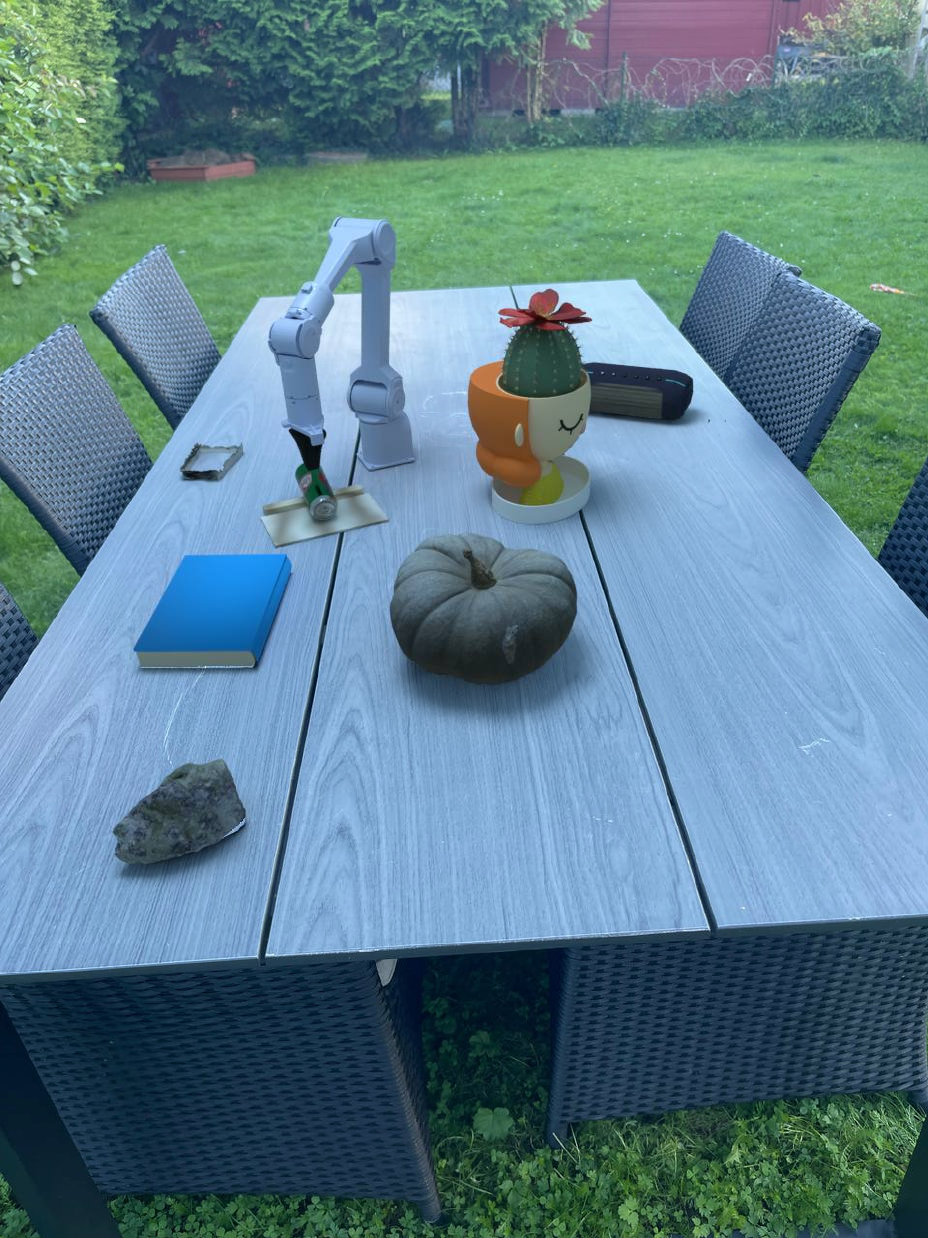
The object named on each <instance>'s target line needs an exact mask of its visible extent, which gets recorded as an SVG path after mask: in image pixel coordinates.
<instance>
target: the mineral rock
mask: <svg viewBox="0 0 928 1238" xmlns="http://www.w3.org/2000/svg"><path fill="white" fill-rule="evenodd" d="M246 810H247V809H246V808H245V806H244V804H243V802H242V800H241V799H240V795H239V794H238V791H237V786H236V784H235V780H234V777H233V776H232V773H231V771H230V768H229V767H228V765H227V763H226V761H225V760H224V759H222V758H220V759H219V758H218V759H214V760H212V761H209V762H206V763H203V764H202V763H199V764H198V763H193V762H188V763H185V764H182V765H180V766H178V767H176V768H175V769H174V770H173V771H171V772H170V773H169V774H167V775H166V776H165V777H164V778H163V780H162V782H161V783H160V785H158V787H157V788H155V790H152V792H150V793H149V794H148V795H145V796H144V797H142V798H141V799H140V800H138V802H137V804H136V805H135V806H133V807H132V808H131V810H130V811H129V812H128V813H127V815H126V816H124V817H123V818H121V819H122V820H120V821H119V822H118V823H117V824H115V826H114V827H113V830H112V834H113V835H114V837H115V838H116V840H117V843H116V846H115V849H114V850H115V852H114V855H115V857H116V858H117V859H118V860H119V861H121V862H124V863H127V864H139V863H141V864H143V865H147V864H153V863H157V862H161V860H162V861H165V860H170V859H172V857H173V858H179V857H181V856H183V855H186V854H190V853H198V852H200V851H201V850H202V849H204V848H205V847H209V846H213V845H215V844H217V843H219V842H220V841H221V839H222V840H223V839H224V838H223V837H224V836H225V835H227V834H228V833H229V832H230V831H232V829H234V828H235V827H236V826H238V825H239V824H240V822H242V821H243V819H244V818H245V817H246V816H247V815H246V813H247V812H246ZM246 818H247V817H246Z"/></svg>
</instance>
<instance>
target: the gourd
mask: <svg viewBox="0 0 928 1238" xmlns="http://www.w3.org/2000/svg"><path fill="white" fill-rule="evenodd" d="M577 603H578V591H577V585H576V583H575V580H574V576H573V574H572V572H571V571H570V570H569V568H568V566H567V564H566V563H565V562H564V560H563V559H562V558H561V557H559V556H557V555H555V554H553V553H549V552H548V551H547V552H546V551H543V550H539V549H537V548H536V549H535V548H530V547H529V548H516V549H514V548H511V547H505V546H504V544H503V543H502V542H500V541H499V540H497V539H495V538H492V537H489V536H484V535H482V534H479V533H472V532H462V533H459V534H451V533H448V534H447V533H446V534H442V535H434V534H433V535H430V536H427V537H426V538H425V539H423V540H422V541H421V542H420V543H419V544H418V545H417V547H416V548H415V549H414V550H413V551H412V552H411V553H409V554H408V556H406V557H405V559H404V560H403V561H402V563H401V564H400V566H399V569H398V572H397V576H396V578H395V580H394V584H393V594H392V598H391V601H390V604H389V615H390V616H389V617H390V623H391V628H392V630H393V633H394V636H395V638H396V641H397V643H398V646H399V648H400V650H401V651H402V653H403V654H404V656H406V658H407V659H408V660H410V662H413V663H414V664H416V665H418V666H419V668H420V669H422V670H424V671H426V672H428V673H430V674H432V675H434V676H440V677H449V676H450V677H453V678H456V679H460V680H463V681H464V682H466V683H468V684H472V685H477V686H478V685H480V686H481V685H482V686H483V685H486V686H487V685H490V686H495V685H501V684H506V683H512V682H514V681H517V680H520V679H522V678H524V677H526V676H529V675H531V674H534V673H535V672H536V671H538V670H539V669H540V668H542V667H543V666H544V665H546V663H547V662H549V660H551V659H552V657H553V656H554V655H555V654H556V653H558V652H559V650H560V649H561V648H562V646H563V645H564V643H565V642H566V641H567V639H568V638H569V635H570V633H571V632H572V631H571V630H572V628H573V626H574V622H575V620H576V618H577V614H578V604H577Z"/></svg>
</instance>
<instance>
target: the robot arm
mask: <svg viewBox="0 0 928 1238" xmlns="http://www.w3.org/2000/svg"><path fill="white" fill-rule="evenodd" d="M327 235H328V236H327V237H328V241H327V242H328V246H329V247H328V249H327V251H326V254H325V256H324V258H323V259H322V263H321V264H320V267H319V268H318V270H317V272H316V275H315V277H314V279H313V281H307V282H304V283H303V284H302V286H301V288H300V290H299V291H298V293H297V294H296V296H295V298H294V300H293V301H292V303H291V305H290V306H289V308H288V310H287V311H286V312H285V315H284V316H283V317H280V318H277V319H276V320H274V321H273V322H272V323H271V325H270V327H269V330H268V340H267V346H268V348H269V350H270V352H271V353H272V354H273V356H274V360H275V364H277V366H279V369H280V376H281V383H282V389H283V394H284V402H285V408H286V414H287V418H286V419H282V420H280V421H281V422H280V423H281V427H282V428H284V429H288V428H289V429H288V433H289V435H290V436H291V437H292V439H293V441H294V442H295V444H296V447H297V448H298V451H299V454H300V457H301V459H302V462H303V463H304V465H305V467H306V469H307V470H308V471H311V470H316V469H319V467H320V466H321V456H322V449H323V445H325V440H326V438H327V431H326V429H324V425H325V415H324V414H323V409H322V403H321V395H320V389H319V387H320V386H319V380H318V373H317V364H316V357H315V355H316V354H317V352H319V349H320V344H321V335H323V328H322V327H323V326H324V324H325V322H326V320H327V319H328V316H329V315H330V313H331V311H332V310H333V308H334V305H335V298H334V295H333V293H334V292H335V290H336V289H337V287H338V286H339V284H341V281H342V280H343V278H344V277H345V276H346V274H347V273H348V271H349V270H350V269H351V267H352V266H353V267H354V268H355V269H356V270H357V271H358V273H359V274H360V275H361V299H360V300H361V302H360V303H361V309H360V311H361V314H360V315H361V320H360V322H361V325H360V326H361V330H360V331H361V333H360V335H361V337H360V338H361V340H360V342H361V343H360V348H361V350H360V351H361V352H360V365H359V366H358V367H357V368H355V370H353V371H352V372H351V373H350V374H349V383H348V387H347V391H346V402H347V405H348V409H349V411H351V412H352V413H354V418H356V419H358V422H359V423H358V424H359V432H360V442H361V449H362V451H360V452H357V453H356V457H357V458H358V459H359V460H360V462H361V463H362V465H364V467H365V468H366V469H367V470H368V471H374V470H378V469H383V468H389V467H393V466H398V465H402V464H406V463H411V462H415V461H416V460H415V457H414V450H413V449H414V447H413V436H412V426H411V422H410V419H409V415H407V413H406V412H405V411H404V409H405V406H406V393H405V391H404V382H403V379H404V378H403V376H402V375H401V374H400V373H399V372H398V371H397V370H395V369H394V367H392V366H391V365H390V338H391V336H390V334H391V333H390V331H391V284H392V283H391V281H392V280H391V277H392V273H391V271H392V270H394V269H395V268H396V254H397V253H396V252H397V246H396V245H397V243H396V242H397V236H396V235H397V234H396V231H395V229H394V228H393V226H392V224H391V223H390V222H389V220H387V219H384V218H383V219H382V218H381V219H372V218H371V219H370V218H355V217H346V216H337V217H335V219H334V220H333V222H332V224H331V226H330V229H329V230H328V234H327ZM303 463H302V464H303Z"/></svg>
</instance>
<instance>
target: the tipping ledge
mask: <svg viewBox="0 0 928 1238" xmlns="http://www.w3.org/2000/svg"><path fill="white" fill-rule="evenodd" d="M332 491H333V493H334V495H335V498H336V500H337V503H338V507H337V512H336V514H335V515H334V516H333V517H332V518H330V519H328V520H318V519H316V518H315V517H314V516H312V515H311V513H310V511H309V509H308V507H307V504H306V502H305V499H304V497H303V496H300V497H295V498H291V499H285V500H282V501H281V500H280V501H276V502H272V503H267V504H264V505H262V510H263V514H264V516H263V515H262V516H261V517H260V521H261V522H262V524H263V526H264V529H265V530H266V532H267V534H268V536H269V538H270V540H271V542H272V543H273V545H274V547H275V548H276V549H277V548H280V547H285V546H289V545H293V544H298V543H302V542H306V541H307V542H308V541H310V540H314V539H318V538H322V537H326V536H331V535H335V534H339V533H344V532H348V531H353V530H357V529H361V528H365V527H371V526H375V525H378V524H383V523H387V522H389V520H390V519H389V517H387V515H386V514H385V513H384V510H382V509H381V507H380V506H379V505H378V503H377V502H376V500H375V499H374V498H373V497H372V496H371V494H370V493H369V492H365V493H364V488H363V487H362V485H361V484H360V483H359V484H353V485H349V486H346V487H340V488H335V489H332Z"/></svg>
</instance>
